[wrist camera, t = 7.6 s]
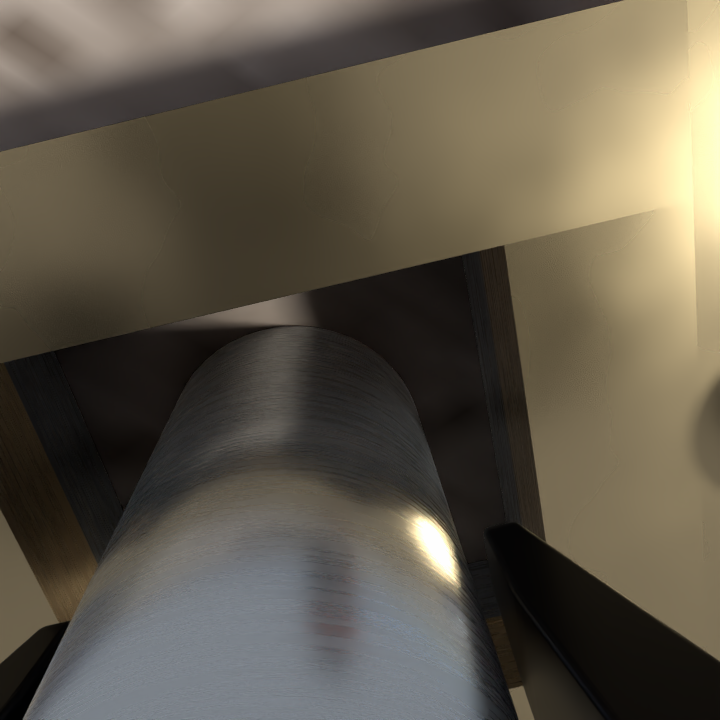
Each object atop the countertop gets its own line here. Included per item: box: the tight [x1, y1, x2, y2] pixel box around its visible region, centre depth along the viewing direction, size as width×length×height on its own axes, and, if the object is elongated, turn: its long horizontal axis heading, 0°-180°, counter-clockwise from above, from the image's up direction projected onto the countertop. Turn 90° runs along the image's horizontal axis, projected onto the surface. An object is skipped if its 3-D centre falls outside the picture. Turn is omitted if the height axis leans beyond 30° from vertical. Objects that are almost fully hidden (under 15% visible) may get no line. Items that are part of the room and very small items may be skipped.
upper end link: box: [0, 0, 720, 720], centre depth 10 cm, size 12×16×4 cm
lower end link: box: [4, 251, 522, 619], centre depth 11 cm, size 12×16×2 cm
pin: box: [23, 326, 519, 720], centre depth 8 cm, size 4×4×9 cm
